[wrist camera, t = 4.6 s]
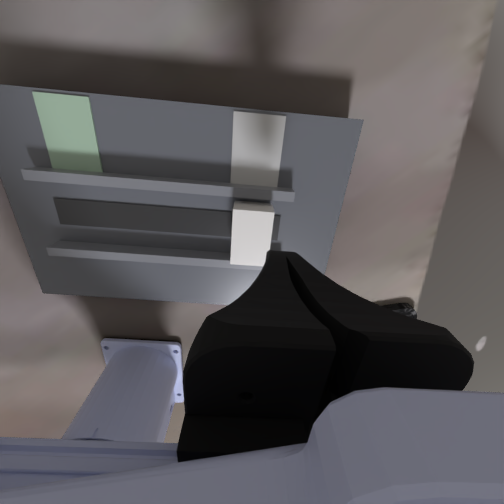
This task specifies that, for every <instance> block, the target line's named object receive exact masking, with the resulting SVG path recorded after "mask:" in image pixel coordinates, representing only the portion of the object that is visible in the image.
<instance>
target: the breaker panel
mask: <svg viewBox="0 0 504 504" xmlns="http://www.w3.org/2000/svg"><path fill="white" fill-rule="evenodd" d="M363 121H364V120H360V119H349V118H339V117H329V116H319V115H309V114H298V113H288V112H278V111H268V110H258V109H247V108H237V107H227V106H217V105H207V104H196V103H186V102H176V101H166V100H156V99H145V98H135V97H125V96H115V95H104V94H94V93H84V92H74V91H64V90H53V89H43V88H33V87H23V86H13V85H2V84H0V177H1V180H2V183H3V186H4V188H5V191H6V194H7V197H8V199H9V202H10V205H11V208H12V210H13V213H14V216H15V218H16V221H17V224H18V227H19V229H20V232H21V235H22V238H23V240H24V243H25V246H26V248H27V251H28V254H29V257H30V259H31V262H32V265H33V268H34V270H35V273H36V276H37V278H38V281H39V284H40V287H41V289H42V292H43V293H47V294H63V295H79V296H94V297H110V298H126V299H142V300H157V301H173V302H189V303H205V304H221V305H229V304H231V303H232V302H233V301H235V300H236V299H237V298H239V297H240V296H241V295H242V294H243V293H244V292H245V291H246V290H247V289H248V288H249V287H250V286H251V285H252V283H253V282H254V281H255V279H256V278H257V276H258V275H259V273H260V272H261V270H262V268H263V266H249V265H235V264H230V257H231V237H232V217H233V207H234V202H235V201H247V202H260V203H272V206H273V209H274V212H275V213H274V221H273V229H272V237H271V244H270V250H274V251H290V252H296V253H298V254H299V255H300V256H301V257H303V258H304V259H305V260H306V261H307V262H309V263H310V264H311V265H312V266H313V267H315V268H316V269H317V270H318V271H320V272H321V273H322V274H325V270H326V266H327V262H328V258H329V254H330V250H331V247H332V243H333V239H334V235H335V231H336V227H337V223H338V219H339V215H340V211H341V207H342V203H343V199H344V195H345V191H346V187H347V184H348V180H349V176H350V172H351V168H352V164H353V160H354V156H355V152H356V148H357V144H358V140H359V136H360V132H361V128H362V124H363Z"/></svg>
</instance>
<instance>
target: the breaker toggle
mask: <svg viewBox="0 0 504 504" xmlns="http://www.w3.org/2000/svg"><path fill="white" fill-rule="evenodd" d="M274 213H275V212H274V209H273V206H272V203H260V202H247V201H235V202H234V207H233V217H232V237H231V257H230V264H235V265H249V266H264V264H265V261H266V252H267V251H269V250H270V244H271V237H272V229H273V221H274Z"/></svg>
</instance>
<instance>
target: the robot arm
mask: <svg viewBox="0 0 504 504" xmlns="http://www.w3.org/2000/svg"><path fill="white" fill-rule="evenodd" d="M101 347H102V351H103V355H104V358H105V362H106V367H105V369H104V371H103V372H102V374H101V376H100V377H99V379H98V380H97V382H96V384H95V385H94V387H93V388H92V390H91V392H90V393H89V395H88V397H87V398H86V400H85V401H84V403H83V405H82V406H81V408H80V409H79V411H78V413H77V414H76V416H75V418H74V419H73V421H72V422H71V424H70V426H69V427H68V429H67V430H66V432H65V434H64V435H63V437H62V438H61V439H44V438H15V437H0V504H504V393H500V392H477V391H462V390H463V389H464V388H465V386H466V385H467V383H468V382H469V380H470V378H471V376H472V373H473V366H474V361H473V358H472V355H471V353H469V351H467V349H466V348H464V346H463V345H462V344H461V343H460V342H459V341H458V340H457V339H456V338H455V337H454V336H453V335H452V334H451V333H450V332H449V331H448V330H447V329H446V328H444V327H440V326H437V325H434V324H431V323H427V322H424V321H421V320H418V319H414V318H411V317H408V316H405V315H402V314H400V313H397V312H394V311H392V310H389V309H387V308H384V307H382V306H379V305H377V304H375V303H373V302H370V301H368V300H366V299H364V298H362V297H360V296H358V295H356V294H354V293H352V292H350V291H349V290H347V289H345V288H343V287H342V286H340V285H338V284H337V283H335V282H334V281H332V280H331V279H329V278H328V277H327V276H325V275H324V274H322V273H321V272H320V271H318V270H317V269H316V268H315V267H313V266H312V265H311V264H310V263H309V262H307V261H306V260H305V259H304V258H303V257H301V256H300V255H299V254H298V253H296V252H290V251H274V250H269V251H267V252H266V261H265V264H264V266H263V268H262V270H261V272H260V273H259V275H258V276H257V278H256V279H255V281H254V282H253V283H252V285H251V286H250V287H249V288H248V289H247V290H246V291H245V292H244V293H243V294H242V295H241V296H240V297H239V298H237V299H236V300H235V301H233V302H232V303H231V304H229V305H228V306H226V307H224V308H222V309H221V310H219V311H217V312H215V313H213V314H211V315H209V316H207V317H206V319H205V321H204V322H203V324H202V326H201V327H200V329H199V331H198V333H197V335H196V337H195V339H194V341H193V343H192V346H191V348H190V350H189V353H188V357H187V360H186V364H185V367H184V371H183V365H182V349H181V344H180V343H178V342H166V341H149V340H131V339H113V338H104V339H103V340H102V341H101ZM183 401H184V405H185V416H184V421H183V425H182V429H181V433H180V438H179V442H178V443H164V439H165V435H166V432H167V428H168V425H169V421H170V418H171V414H172V411H173V407H174V403H175V402H183Z"/></svg>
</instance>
